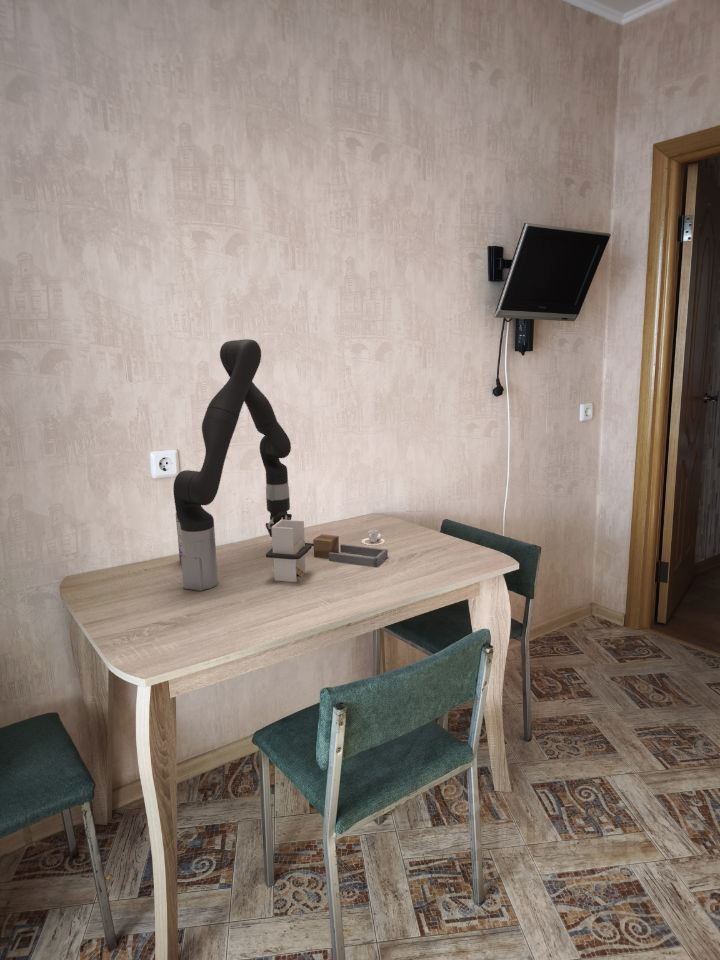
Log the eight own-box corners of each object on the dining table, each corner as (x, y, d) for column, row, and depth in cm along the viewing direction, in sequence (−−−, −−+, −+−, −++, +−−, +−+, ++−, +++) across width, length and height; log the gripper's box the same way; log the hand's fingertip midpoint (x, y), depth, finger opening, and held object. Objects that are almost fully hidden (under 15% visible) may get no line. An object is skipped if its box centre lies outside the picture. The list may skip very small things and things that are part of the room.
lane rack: (376, 567, 201) (376, 559, 200) (328, 560, 207) (328, 553, 206) (387, 556, 209) (387, 549, 209) (341, 551, 216) (341, 543, 215)
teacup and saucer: (375, 536, 231) (375, 525, 230) (391, 542, 225) (391, 530, 224) (356, 542, 225) (356, 531, 224) (372, 548, 219) (372, 536, 218)
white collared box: (316, 597, 180) (314, 540, 176) (234, 590, 186) (230, 534, 182) (341, 565, 204) (340, 514, 200) (268, 559, 210) (265, 510, 206)
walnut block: (330, 559, 208) (330, 541, 207) (274, 551, 217) (273, 534, 215) (339, 553, 214) (338, 536, 212) (284, 546, 222) (283, 529, 221)
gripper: (278, 490, 222) (280, 539, 226) (256, 500, 210) (259, 552, 214) (298, 492, 220) (300, 541, 224) (277, 502, 207) (279, 554, 211)
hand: (280, 546), depth 219 cm, fingers closed on walnut block, 2 cm apart
